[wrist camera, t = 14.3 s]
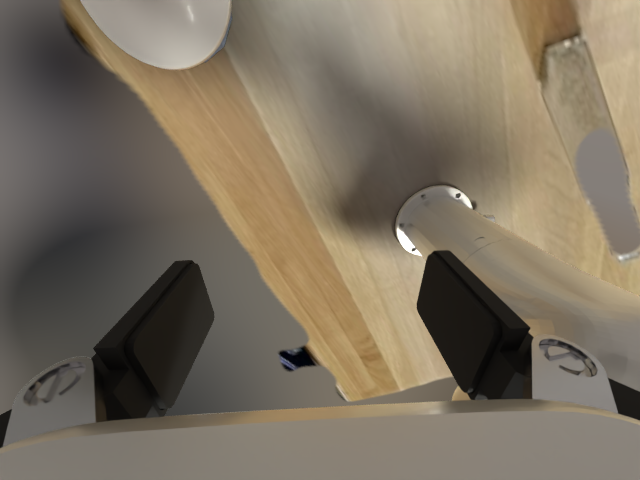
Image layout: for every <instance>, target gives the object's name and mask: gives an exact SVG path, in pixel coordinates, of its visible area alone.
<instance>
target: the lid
mask: <svg viewBox="0 0 640 480" xmlns="http://www.w3.org/2000/svg"><path fill="white" fill-rule="evenodd" d="M80 1H81V3H82V4H83V6H84V7H85V9H86V10H87V12H88V14H89V15H90V16H91V18H92V19H93V20H94V22H95V23H96V24H97V26H98V27H99V28H100V29H101V30H102V31H103V32H104V34H105V35H106V36H107V37H108V38H109V39H110V40H111V41H113V42H114V43H115V44H116V45H117V46H118V47H120V48H121V49H122V50H123V51H125V52H126V53H128V54H129V55H131V56H133V57H134V58H136V59H138V60H140V61H142V62H144V63H147V64H150V65H153V66H156V67H159V68H163V69H168V70H185V69H189V68H193V67H196V66H198V65H200V64H202V63H203V62H204V61H206V60H207V59H209V58H210V57H211V56H212V55H213V54H214V52H215V51H216V50H217V48H218V47H219V46H220V44H221V42H222V40H223V38H224V36H225V33H226V30H227V27H228V24H229V19H230V14H231V4H232V0H80Z"/></svg>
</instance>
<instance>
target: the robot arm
mask: <svg viewBox="0 0 640 480" xmlns="http://www.w3.org/2000/svg"><path fill="white" fill-rule="evenodd" d="M421 195H422V196H421ZM494 221H495V217H494V216H493V215H483V216H482V215H481V214H479V213H477V212H475V211H474V210H473V208H472V204H471V201H470V200H469V198H468V197H467V196H466V195H465V194H464V193H463V192H462V191H460V190H458V189H456V188H454V187H451V186H446V185H436V186H431V187H427V188H425V189H422V190H420V191H419V192H417V193H415V194H414V195H413V196H411V197H410V198H409V199H408V200H407V201H406V202H405V203H404V205H403V206H402V208H401V209H400V211H399V213H398V215H397V218H396V222H395V233H396V237H397V239H398V241H399V243H400V244H401V245H402V247H403V248H405V249H406V250H407V251H408V252H410V253H412V254H415V255H419V256H422V257H423V258H424V259H425V260H426V265H425V270H424V274H423V278H422V283H421V287H420V292H419V296H418V301H417V310H418V313H419V315H420V317H421V318H422V320H423V322H424V324H425V326H426V327H427V329H428V331H429V333H430V335H431V337H432V338H433V340H434V342H435V344H436V346H437V347H438V349H439V351H440V353H441V355H442V356H443V358H444V360H445V362H446V364H447V365H448V367H449V369H450V371H451V373H452V375H453V376H454V378H455V380H456V382H457V384H458V385H459V386H458V387H457V389H456V390H455V392H454V394H453V397H452V401H439V402H418V403H397V404H376V405H357V406H339V407H318V408H301V409H282V410H263V411H246V412H231V413H230V412H229V413H212V414H195V415H180V416H164V415H165V413H166V411H167V409H168V408H171V407H172V406H173V405H174V403H175V401H176V399H177V397H178V395H179V393H180V390H181V388H182V386H183V384H184V382H185V380H186V378H187V375H188V374H189V371H190V369H191V367H192V365H193V363H194V361H195V359H196V357H197V355H198V352H199V350H200V348H201V346H202V344H203V342H204V340H205V338H206V336H207V334H208V332H209V329H210V327H211V325H212V323H213V321H214V311H213V308H212V305H211V302H210V299H209V296H208V293H207V289H206V286H205V283H204V280H203V277H202V274H201V271H200V268H199V265H198V264H195V263H194V262H193V261H192V260H185V261H175V262H174V263H173V264H172V265H171V266H170V267H169V268H168V269H167V270H166V272H165V273H164V274H163V275H162V276H161V277H160V278H159V279H158V280H157V281H156V282H155V284H153V285H152V286H151V287H150V289H149V290H148V291H147V292H146V293H145V294H144V295H143V296H142V297H141V298H140V299H139V300H138V301H137V302H136V303H135V304H134V306H133V307H132V308H131V309H130V310H129V311H128V312H127V313H126V314H125V315H124V316H123V317H122V318H121V319H120V320H119V321H118V323H117V324H116V325H115V326H114V327H113V328H112V329H111V330H110V331H109V332H108V333H107V334H106V335H105V336H104V337H103V339H102V340H101V341H100V342H99V343H98V344H97V345H96V346H95V347H94V348H93V349H94V350H95V352H96V354H95V355H94V356H93V357H92V358H91V359H90V358H88V357H74V358H69V359H67V360H64V361H62V362H59V363H57V364H55V365H53V366H51V367H49V368H48V369H46V370H44V371H43V372H42V373H40V374H38V375H37V376H35V377H34V378H33V379H32V380H31V381H30V382H29V383H27V384H26V385H25V386H24V387H23V389H22V390H21V391H20V392H19V393H18V395H17V397H16V399H15V401H14V403H13V407H12V409H11V410H9V411H7V412H5V413H3V414H1V415H0V480H640V296H639V295H637V294H635V293H632V292H630V291H627V290H625V289H622V288H620V287H618V286H615V285H613V284H610V283H608V282H606V281H604V280H602V279H599V278H597V277H595V276H593V275H591V274H588V273H586V272H584V271H582V270H580V269H578V268H576V267H574V266H572V265H570V264H568V263H566V262H564V261H562V260H561V259H559V258H557V257H555V256H553V255H551V254H549V253H547V252H546V251H544V250H542V249H540V248H538V247H537V246H535V245H533V244H531V243H530V242H528V241H526V240H524V239H523V238H521V237H519V236H517V235H516V234H514V233H512V232H510V231H509V230H507V229H505V228H503V227H501V226H500V225H498V224H496V223H494ZM400 223H401V224H400Z"/></svg>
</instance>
